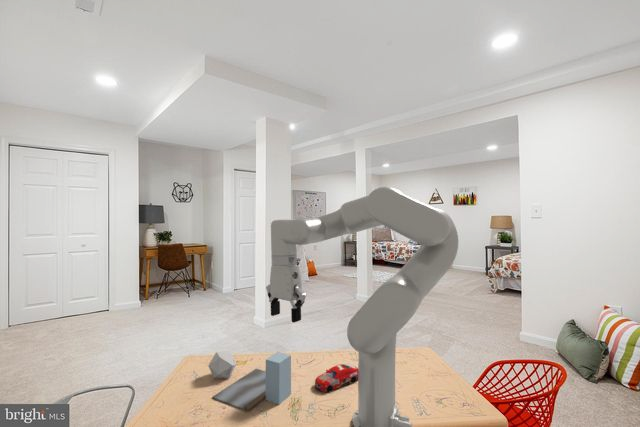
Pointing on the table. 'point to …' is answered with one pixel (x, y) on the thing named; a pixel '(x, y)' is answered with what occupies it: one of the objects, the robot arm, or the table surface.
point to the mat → (245, 391)
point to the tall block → (278, 377)
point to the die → (222, 365)
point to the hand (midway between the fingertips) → (285, 317)
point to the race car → (336, 377)
